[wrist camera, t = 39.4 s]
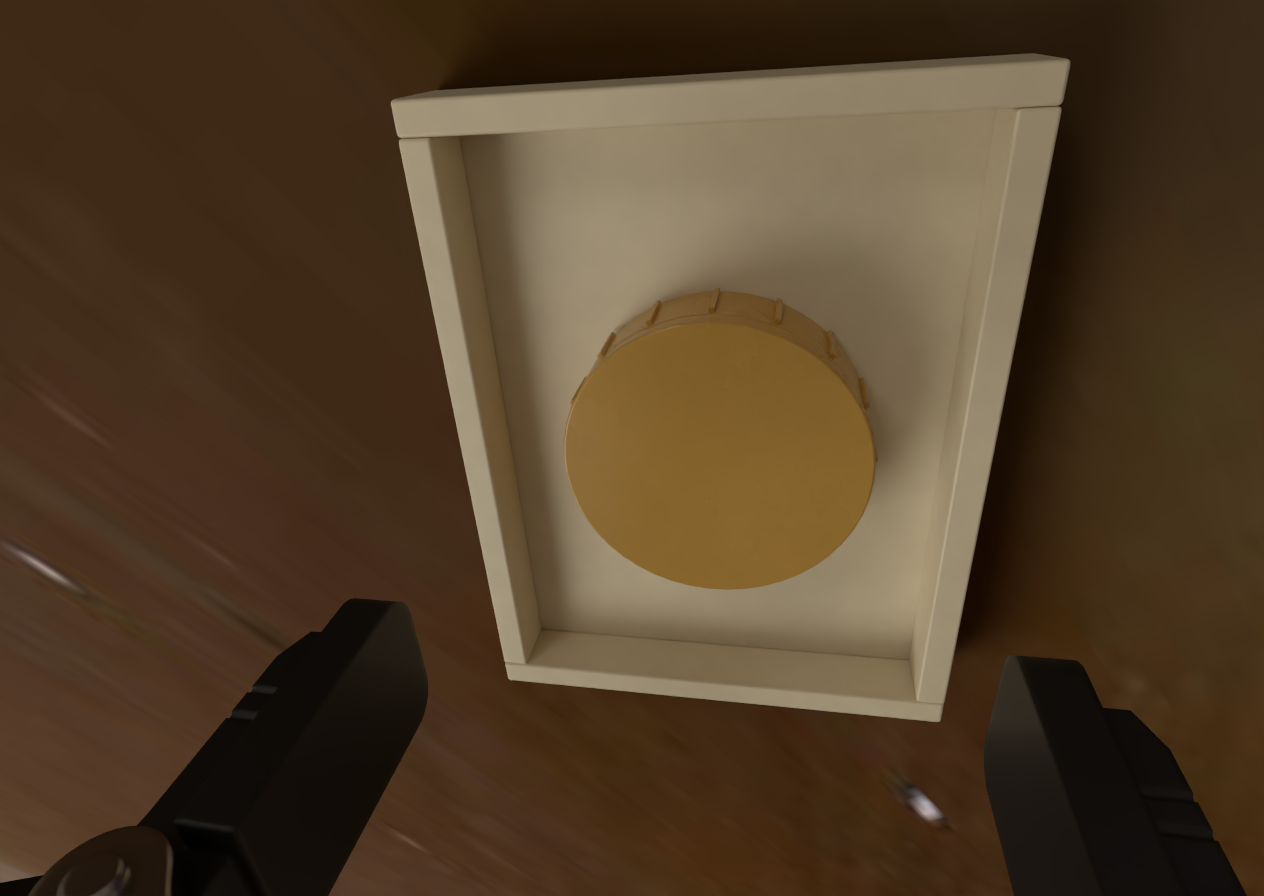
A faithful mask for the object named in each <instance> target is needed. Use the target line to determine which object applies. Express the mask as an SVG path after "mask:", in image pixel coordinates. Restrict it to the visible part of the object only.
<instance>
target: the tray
mask: <svg viewBox="0 0 1264 896" xmlns="http://www.w3.org/2000/svg"><path fill="white" fill-rule="evenodd" d="M1070 65H1071V64H1070V60H1068V59H1066V58H1059V57H1053V56H1047V55H1041V54H1035V53H1030V54H1014V55H997V56H981V57H965V58H949V59H933V60H917V61H901V62H885V63H869V64H853V65H837V66H820V67H804V68H788V69H772V70H756V71H740V72H724V73H708V74H692V75H676V76H660V77H643V78H627V79H611V80H595V81H579V82H563V83H547V84H531V85H515V86H499V87H483V88H466V89H450V90H435V91H430V92H426V93H421V94H416V95H412V96H407V97H402V98H397V99H394V100H392V101H391V107H392V112H393V117H394V121H395V126H396V131H397V135H398V137H400V138H402V139H400V140H399V146H400V151H401V156H402V161H403V166H404V171H405V176H406V181H407V185H408V190H409V195H410V200H411V205H412V210H413V215H414V220H415V225H416V230H417V234H418V239H419V244H420V249H421V254H422V259H423V264H424V269H425V274H426V279H427V283H428V288H429V293H430V298H431V303H432V308H433V313H434V318H435V323H436V327H437V332H438V337H439V342H440V347H441V352H442V357H443V362H444V367H445V372H446V376H447V381H448V386H449V391H450V396H451V401H452V406H453V411H454V416H455V420H456V425H457V430H458V435H459V440H460V445H461V450H462V455H463V460H464V465H465V469H466V474H467V479H468V484H469V489H470V494H471V499H472V504H473V509H474V513H475V518H476V523H477V528H478V533H479V538H480V543H481V548H482V553H483V558H484V562H485V567H486V572H487V577H488V582H489V587H490V592H491V597H492V602H493V607H494V611H495V616H496V621H497V626H498V631H499V636H500V641H501V646H502V651H503V655H504V660H505V662H506V663H505V665H506V670H507V675H508V678H509V679H510V680H518V681H528V682H538V683H548V684H558V685H568V686H579V687H589V688H599V689H609V690H619V691H629V692H639V693H649V694H659V695H670V696H680V697H690V698H700V699H710V700H720V701H730V702H740V703H751V704H761V705H771V706H781V707H791V708H801V709H811V710H821V711H832V712H842V713H852V714H862V715H872V716H882V717H892V718H902V719H913V720H923V721H933V722H940V720H941V716H942V711H943V706H944V702H945V697H946V692H947V687H948V682H949V677H950V672H951V667H952V662H953V657H954V652H955V647H956V642H957V637H958V632H959V627H960V622H961V617H962V612H963V607H964V601H965V596H966V591H967V586H968V581H969V576H970V571H971V566H972V561H973V556H974V551H975V546H976V541H977V536H978V531H979V526H980V521H981V516H982V511H983V506H984V501H985V496H986V490H987V485H988V480H989V475H990V470H991V465H992V460H993V455H994V450H995V445H996V440H997V435H998V430H999V425H1000V420H1001V415H1002V410H1003V405H1004V400H1005V395H1006V390H1007V384H1008V379H1009V374H1010V369H1011V364H1012V359H1013V354H1014V349H1015V344H1016V339H1017V334H1018V329H1019V324H1020V319H1021V314H1022V309H1023V304H1024V299H1025V294H1026V289H1027V284H1028V279H1029V273H1030V268H1031V263H1032V258H1033V253H1034V248H1035V243H1036V238H1037V233H1038V228H1039V223H1040V218H1041V213H1042V208H1043V203H1044V198H1045V193H1046V188H1047V183H1048V178H1049V173H1050V167H1051V162H1052V157H1053V152H1054V147H1055V142H1056V137H1057V132H1058V127H1059V122H1060V117H1061V112H1062V109H1061V107H1059V106H1058V105H1060V104H1062V102H1063V100H1064V95H1065V90H1066V85H1067V80H1068V75H1069V70H1070ZM714 288H720V292H724V291H728V292H737V293H747V294H752V295H756V296H760V297H764V298H768V299H771V300H774V301H776V298H779V299H781V300H782V304H784V305H787V306H789V307H791V308H792V309H794V310H796V311H798V312H800V313H802V314H804V315H805V316H807V317H808V318H810V319H811V320H812V321H814V322H815V323H817V324H818V325H819V326H821V327H822V328H823V329H824V330H825V331H826V332H828V331H829V330H831V331H832V332H833V333H834V339H835V341H836V342H837V343H838V344H839V346H840V347H841V348H842V349H843V351H844V352H845V353H846V354H847V356H848V358H849V359H850V361H851V363H852V365H853V366H854V368H855V370H856V371H857V374H858V377H859V378H862V377H864V380H865V383H866V388H867V393H868V398H869V403H870V407H869V408H868V413H869V419H870V424H871V429H872V431H873V436H874V442H875V447H876V452H877V457H878V460H877V463H876V467H875V477H874V484H873V488H872V492H871V496H870V499H869V502H868V504H867V506H866V509H865V511H864V513H863V516H862V517H861V519H860V520H859V522H858V524H857V525H856V527H855V529H854V530H853V531H852V533H851V534H850V535H849V536H848V537H847V539H846V540H845V541H844V542H843V543H842V545H840V546H839V547H838V548H837V549H836V550H835V551H834V552H833V553H832V554H831V555H829V556H828V557H827V558H825V559H824V560H823V561H821V562H820V563H818V564H817V565H815V566H814V567H812V568H810V569H808V570H806V571H804V572H803V573H801V574H799V575H797V576H794V577H791V578H789V579H786V580H784V581H781V582H777V583H773V584H770V585H766V586H761V587H754V588H747V589H731V590H723V589H707V588H701V587H695V586H689V585H685V584H682V583H678V582H674V581H671V580H668V579H666V578H663V577H660V576H658V575H655V574H653V573H651V572H649V571H647V570H645V569H643V568H641V567H639V566H637V565H636V564H634V563H633V562H631V561H630V560H628V559H626V558H625V557H623V556H622V555H621V554H620V553H618V552H617V551H616V550H615V549H613V548H612V547H611V546H610V545H609V544H608V543H607V542H606V541H605V540H604V539H603V538H602V537H601V536H600V535H599V534H598V533H597V532H596V531H595V529H594V528H593V527H592V526H591V524H590V523H589V522H588V521H587V519H586V518H585V516H584V514H583V513H582V511H581V509H580V508H579V506H578V504H577V502H576V499H575V497H574V495H573V493H572V490H571V487H570V484H569V480H568V477H567V474H566V467H565V460H564V435H565V429H566V422H567V419H568V416H569V412H570V409H571V406H572V404H570V403H571V400H572V398H573V396H574V394H575V393H576V391H577V389H578V388H579V386H580V384H581V382H582V381H583V379H584V377H585V376H586V377H587V376H588V374H589V372H590V370H591V369H592V367H593V365H594V363H595V362H596V360H597V358H598V357H597V355H598V354H599V352H600V350H601V349H602V347H603V345H604V343H605V342H606V340H607V338H608V336H609V335H610V334H611V333H612V332H614V333H615V334H616V333H617V332H618V331H619V330H620V329H621V328H622V327H623V326H625V325H626V324H627V323H628V322H630V321H631V320H632V319H633V318H635V317H636V316H638V315H639V314H641V313H643V312H644V311H646V310H648V309H649V308H651V307H653V305H654V303H655V302H656V301H658V300H660V301H661V303H663V302H665V301H668V300H671V299H674V298H678V297H681V296H685V295H689V294H696V293H703V292H713V291H714Z"/></svg>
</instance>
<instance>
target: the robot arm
mask: <svg viewBox="0 0 1264 896" xmlns="http://www.w3.org/2000/svg"><path fill="white" fill-rule="evenodd" d="M427 698H428V680H427V675H426V671H425V667H424V663H423V660H422V656H421V652H420V648H419V644H418V640H417V637H416V633H415V629H414V625H413V621H412V617H411V614H410V611H409V609H408V607H407V606H406V605H405V604H404V603H402V602H393V601H381V600H369V599H357V598H354V599H350V600H348V601H347V602H345V603H344V604H343V605H342V606H341V608H340V609H339V610H338V611H337V613H336V614H335V615H334V617H333V618H332V619H331V620H330V622H329V623H328V624H327V625H326V627H325V628H324V629H323V631H322V632H310V633H309V634H307V635H306V636H304V637H303V638H302V639H300V640H299V641H297V642H296V643H295V644H293V645H292V646H291V647H289V648H288V649H286V650H285V651H284V652H282V653H281V654H279V655H278V656H277V657H276V658H275V659H274V661H273V662H272V663H271V664H270V665H269V667H268V668H267V669H266V670H265V671H264V673H263V674H262V675H261V676H260V678H259V679H258V680H257V681H256V682H255V684H254V685H253V686H252V691H251V693H248V692H247V693H246V695H245V696H244V697H243V698H242V699H241V701H240V702H239V703H238V704H237V706H236V707H235V708H234V709H233V710H232V715H231V717H230V718H226V719H225V720H224V721H223V723H222V724H221V725H220V726H219V727H218V729H217V730H216V731H215V732H214V734H213V735H212V736H211V737H210V738H209V740H208V741H207V742H206V743H205V745H204V746H203V747H202V748H201V749H200V751H199V752H198V753H197V754H196V755H195V757H194V758H193V759H192V760H191V762H190V763H189V764H188V765H187V766H186V768H185V769H184V770H183V771H182V773H181V774H180V775H179V776H178V777H177V779H176V780H175V781H174V782H173V783H172V785H171V786H170V787H169V788H168V790H167V791H166V792H165V793H164V794H163V796H162V797H161V798H160V799H159V801H158V802H157V803H156V804H155V805H154V807H153V808H152V809H151V810H150V811H149V813H148V814H147V815H146V816H145V817H144V818H143V819H142V820H141V822H140V823H139V824H138V825H137V826H128V827H123V828H118V829H114V830H111V831H108V832H105V833H103V834H101V835H98V836H96V837H94V838H92V839H90V840H88V841H86V842H85V843H83V844H81V845H79V846H78V847H76V848H75V849H74V850H72V851H71V852H69V853H68V854H66V855H65V856H64V857H63V858H61V859H60V860H59V861H58V862H57V863H55V864H54V865H53V866H52V867H51V868H50V869H49V870H48V871H47V872H46V873H45V874H44V875H42V876H36V877H31V878H25V879H20V880H14V881H9V882H3V883H0V896H328V895H329V893H330V891H331V889H332V887H333V886H334V884H335V882H336V880H337V878H338V876H339V874H340V873H341V871H342V869H343V867H344V865H345V863H346V861H347V859H348V858H349V856H350V854H351V852H352V850H353V848H354V846H355V845H356V843H357V841H358V839H359V837H360V835H361V833H362V831H363V830H364V828H365V826H366V824H367V822H368V820H369V818H370V817H371V815H372V813H373V811H374V809H375V807H376V805H377V803H378V802H379V800H380V798H381V796H382V794H383V792H384V790H385V789H386V787H387V785H388V783H389V781H390V779H391V777H392V775H393V774H394V772H395V770H396V768H397V766H398V764H399V762H400V760H401V759H402V757H403V755H404V753H405V751H406V749H407V747H408V746H409V744H410V742H411V740H412V738H413V736H414V734H415V732H416V731H417V729H418V727H419V725H420V723H421V721H422V718H423V715H424V712H425V708H426V704H427ZM984 770H985V780H986V786H987V791H988V795H989V799H990V803H991V807H992V811H993V815H994V819H995V823H996V827H997V831H998V834H999V838H1000V842H1001V846H1002V850H1003V854H1004V858H1005V862H1006V866H1007V869H1008V873H1009V877H1010V881H1011V885H1012V889H1013V893H1014V896H1247V895H1246V893H1245V891H1244V890H1243V888H1242V886H1241V884H1240V882H1239V880H1238V878H1237V876H1236V874H1235V872H1234V871H1233V869H1232V867H1231V865H1230V863H1229V861H1228V859H1227V857H1226V855H1225V853H1224V851H1223V850H1222V848H1221V846H1220V844H1219V842H1218V841H1214V839H1213V835H1212V833H1213V831H1212V829H1211V827H1210V825H1209V823H1208V821H1207V819H1206V817H1205V815H1204V813H1203V812H1202V810H1201V808H1200V806H1199V804H1198V803H1197V802H1194V800H1193V792H1192V791H1191V789H1190V787H1189V785H1188V783H1187V781H1186V779H1185V777H1184V775H1183V773H1182V772H1181V770H1180V768H1179V766H1178V764H1177V762H1176V760H1175V758H1174V756H1173V754H1172V752H1171V751H1170V749H1169V748H1168V747H1167V746H1166V745H1165V744H1164V743H1163V742H1162V741H1161V740H1160V739H1159V738H1158V737H1157V736H1156V735H1155V734H1154V733H1153V732H1152V731H1151V730H1150V729H1149V728H1148V727H1147V726H1146V725H1145V724H1144V723H1143V722H1142V721H1141V720H1140V719H1139V718H1138V717H1137V716H1136V715H1135V714H1134V713H1133V712H1132V711H1130V710H1120V709H1109V708H1102V705H1101V703H1100V701H1099V699H1098V697H1097V694H1096V692H1095V690H1094V688H1093V686H1092V684H1091V681H1090V679H1089V677H1088V675H1087V673H1086V671H1085V669H1084V667H1083V666H1082V665H1081V664H1080V663H1079V662H1078V661H1075V660H1064V659H1052V658H1040V657H1028V656H1016V655H1010V656H1008V657H1007V658H1006V660H1005V662H1004V665H1003V669H1002V673H1001V677H1000V681H999V685H998V689H997V693H996V697H995V701H994V706H993V710H992V714H991V718H990V722H989V726H988V730H987V734H986V739H985V746H984Z"/></svg>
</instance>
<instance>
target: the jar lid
mask: <svg viewBox="0 0 1264 896" xmlns="http://www.w3.org/2000/svg"><path fill="white" fill-rule="evenodd" d="M597 357H598V358H597V360H596V362H595V363H594V365H593V367H592V369H591V370H590V372H589V374H588V376H587V377H586V376H585V377H584V379H583V381H582V382H581V384H580V386H579V388H578V389H577V391H576V393H575V394H574V396H573V398H572V400H571V403H570V404H572V406H571V409H570V412H569V416H568V419H567V422H566V429H565V435H564V460H565V467H566V474H567V477H568V480H569V484H570V487H571V490H572V493H573V495H574V497H575V499H576V502H577V504H578V506H579V508H580V509H581V511H582V513H583V514H584V516H585V518H586V519H587V521H588V522H589V523H590V524H591V526H592V527H593V528H594V529H595V531H596V532H597V533H598V534H599V535H600V536H601V537H602V538H603V539H604V540H605V541H606V542H607V543H608V544H609V545H610V546H611V547H612V548H613V549H615V550H616V551H617V552H618V553H620V554H621V555H622V556H623V557H625V558H626V559H628V560H630V561H631V562H633V563H634V564H636V565H637V566H639V567H641V568H643V569H645V570H647V571H649V572H651V573H653V574H655V575H658V576H660V577H663V578H666V579H668V580H671V581H674V582H678V583H682V584H685V585H689V586H695V587H701V588H707V589H723V590H731V589H747V588H754V587H761V586H766V585H770V584H773V583H777V582H781V581H784V580H786V579H789V578H791V577H794V576H797V575H799V574H801V573H803V572H804V571H806V570H808V569H810V568H812V567H814V566H815V565H817V564H818V563H820V562H821V561H823V560H824V559H825V558H827V557H828V556H829V555H831V554H832V553H833V552H834V551H835V550H836V549H837V548H838V547H839V546H840V545H842V543H843V542H844V541H845V540H846V539H847V537H848V536H849V535H850V534H851V533H852V531H853V530H854V529H855V527H856V525H857V524H858V522H859V520H860V519H861V517H862V516H863V513H864V511H865V509H866V506H867V504H868V502H869V499H870V496H871V492H872V488H873V484H874V477H875V467H876V463H877V460H878V457H877V452H876V447H875V442H874V436H873V431H872V429H871V424H870V419H869V413H868V408H869V407H870V403H869V398H868V393H867V388H866V383H865V380H864V377H862V378H859V377H858V374H857V371H856V370H855V368H854V366H853V365H852V363H851V361H850V359H849V358H848V356H847V354H846V353H845V352H844V351H843V349H842V348H841V347H840V346H839V344H838V343H837V342H836V341H835V339H834V333H833V332H832V331H831V330H829V331H828V332H826V331H825V330H824V329H823V328H822V327H821V326H819V325H818V324H817V323H815V322H814V321H812V320H811V319H810V318H808V317H807V316H805V315H804V314H802V313H800V312H798V311H796V310H794V309H792V308H791V307H789V306H787V305H784V304H782V300H781V299H779V298H776V301H774V300H771V299H768V298H764V297H760V296H756V295H752V294H747V293H737V292H728V291H724V292H720V288H714V291H713V292H703V293H696V294H689V295H685V296H681V297H678V298H674V299H671V300H668V301H665V302H663V303H661V301H660V300H658V301H656V302H655V303H654V305H653V307H651V308H649V309H648V310H646V311H644V312H643V313H641V314H639V315H638V316H636V317H635V318H633V319H632V320H631V321H630V322H628V323H627V324H626V325H625V326H623V327H622V328H621V329H620V330H619V331H618V332H617V333H616V334H615V333H614V332H612V333H611V334H610V335H609V336H608V338H607V340H606V342H605V343H604V345H603V347H602V349H601V350H600V352H599V354H598V355H597Z"/></svg>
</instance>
